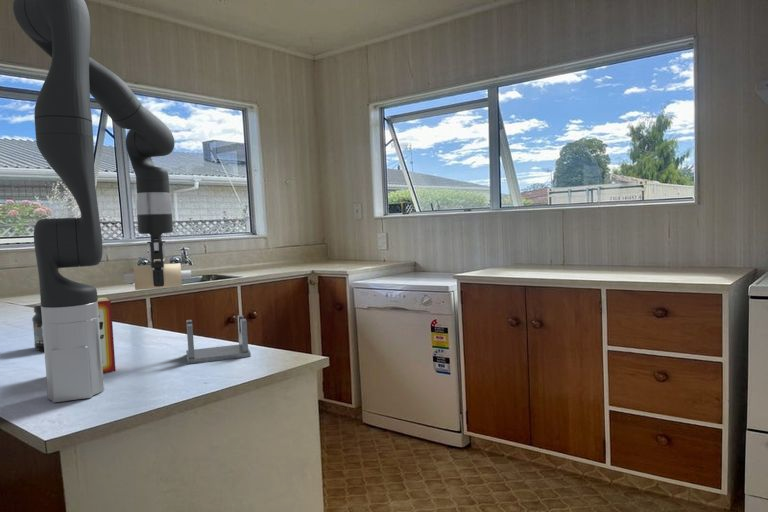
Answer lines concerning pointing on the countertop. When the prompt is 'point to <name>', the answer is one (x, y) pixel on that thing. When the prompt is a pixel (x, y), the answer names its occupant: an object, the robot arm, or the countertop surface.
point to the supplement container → (38, 328)
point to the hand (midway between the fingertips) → (159, 284)
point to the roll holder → (218, 352)
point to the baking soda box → (106, 334)
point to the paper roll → (145, 276)
